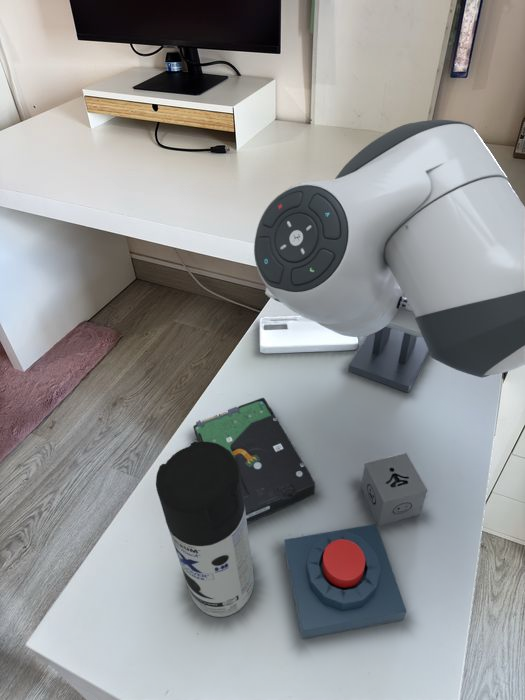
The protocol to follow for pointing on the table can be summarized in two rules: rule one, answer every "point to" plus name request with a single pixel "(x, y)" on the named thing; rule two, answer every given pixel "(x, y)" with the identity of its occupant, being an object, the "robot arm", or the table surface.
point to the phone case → (301, 337)
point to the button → (343, 563)
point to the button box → (336, 602)
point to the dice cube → (393, 489)
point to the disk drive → (259, 457)
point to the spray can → (208, 525)
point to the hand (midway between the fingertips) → (380, 312)
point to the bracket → (390, 358)
